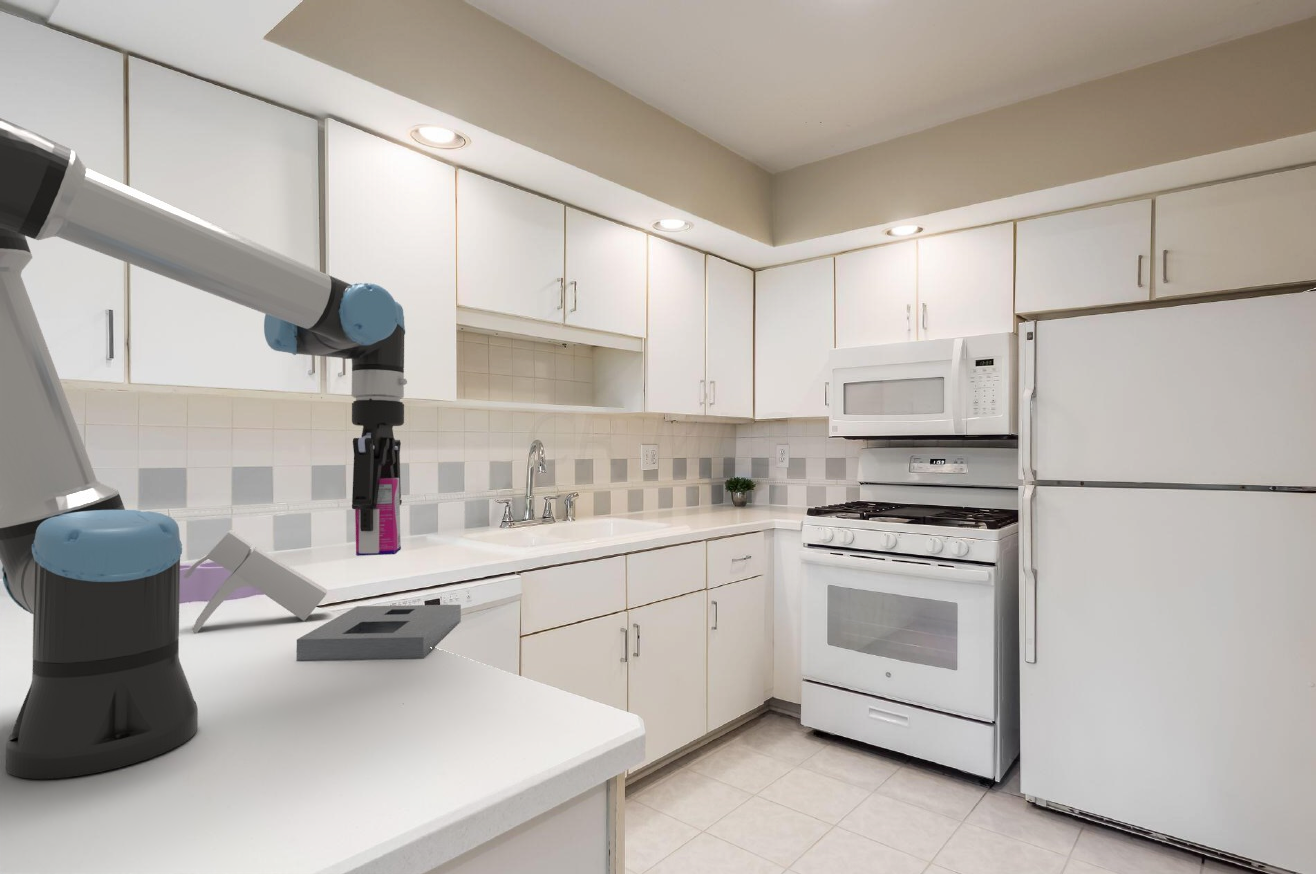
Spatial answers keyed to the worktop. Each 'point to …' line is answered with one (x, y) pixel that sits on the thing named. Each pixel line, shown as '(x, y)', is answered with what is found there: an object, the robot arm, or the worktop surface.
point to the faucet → (258, 578)
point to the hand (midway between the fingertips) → (377, 549)
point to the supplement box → (385, 518)
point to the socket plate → (380, 633)
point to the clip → (208, 583)
